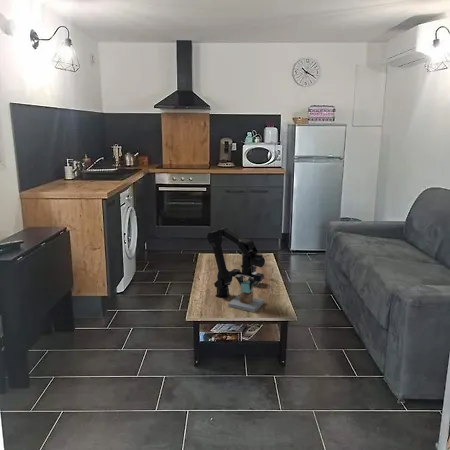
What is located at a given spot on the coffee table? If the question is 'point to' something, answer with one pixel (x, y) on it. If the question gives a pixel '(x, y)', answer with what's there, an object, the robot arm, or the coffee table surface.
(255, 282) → the ceramic mug
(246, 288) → the teal block
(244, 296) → the walnut block
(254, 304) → the base plate
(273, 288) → the coffee table surface
